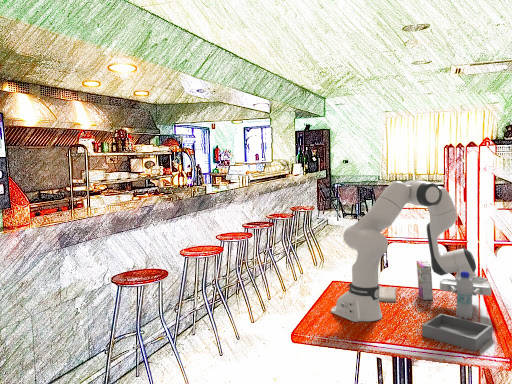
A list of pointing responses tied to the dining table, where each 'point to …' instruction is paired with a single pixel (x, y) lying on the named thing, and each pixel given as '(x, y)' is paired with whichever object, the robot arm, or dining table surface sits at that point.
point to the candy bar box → (424, 280)
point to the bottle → (464, 296)
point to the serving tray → (457, 331)
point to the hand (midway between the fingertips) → (464, 292)
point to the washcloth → (387, 294)
